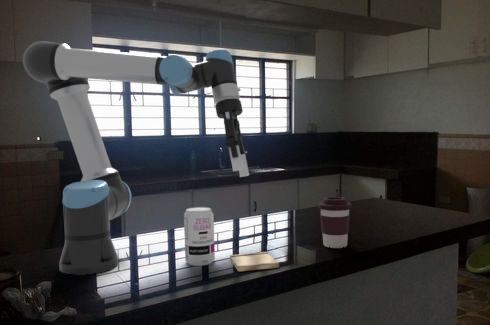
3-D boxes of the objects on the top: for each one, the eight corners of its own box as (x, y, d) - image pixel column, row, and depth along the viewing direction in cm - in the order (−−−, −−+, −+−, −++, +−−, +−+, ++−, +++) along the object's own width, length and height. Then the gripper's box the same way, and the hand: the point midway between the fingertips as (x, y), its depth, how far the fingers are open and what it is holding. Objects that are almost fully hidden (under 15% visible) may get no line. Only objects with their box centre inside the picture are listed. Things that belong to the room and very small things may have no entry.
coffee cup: (336, 240, 137) (335, 195, 137) (358, 246, 129) (357, 198, 128) (312, 244, 132) (311, 198, 132) (334, 251, 124) (333, 201, 123)
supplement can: (200, 256, 123) (198, 205, 122) (220, 261, 117) (219, 208, 117) (179, 263, 116) (177, 210, 116) (200, 268, 111) (198, 212, 110)
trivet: (238, 271, 108) (238, 266, 108) (230, 259, 118) (230, 255, 118) (279, 267, 110) (279, 262, 110) (267, 256, 121) (267, 251, 121)
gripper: (233, 84, 108) (249, 164, 104) (245, 110, 132) (258, 175, 129) (205, 91, 109) (220, 170, 105) (222, 116, 133) (235, 180, 129)
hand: (241, 173), depth 117 cm, fingers open, 13 cm apart
